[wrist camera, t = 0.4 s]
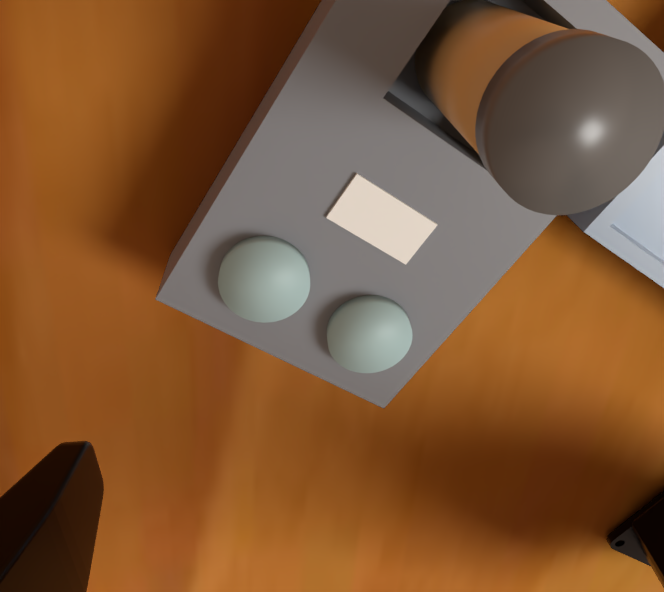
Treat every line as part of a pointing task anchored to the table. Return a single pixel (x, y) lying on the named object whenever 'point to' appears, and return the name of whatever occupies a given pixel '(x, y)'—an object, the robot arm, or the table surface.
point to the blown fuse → (544, 103)
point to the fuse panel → (359, 204)
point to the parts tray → (633, 220)
